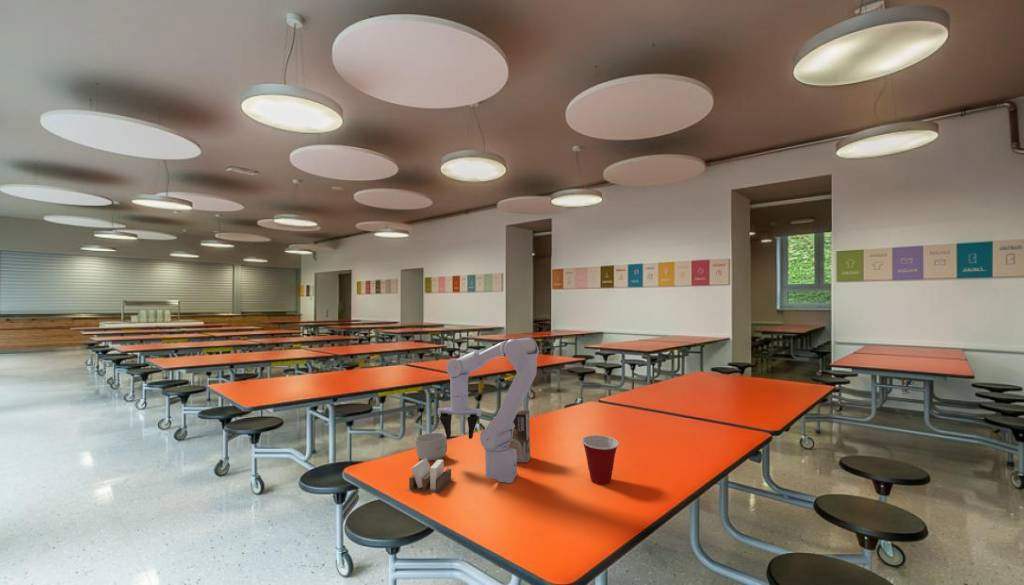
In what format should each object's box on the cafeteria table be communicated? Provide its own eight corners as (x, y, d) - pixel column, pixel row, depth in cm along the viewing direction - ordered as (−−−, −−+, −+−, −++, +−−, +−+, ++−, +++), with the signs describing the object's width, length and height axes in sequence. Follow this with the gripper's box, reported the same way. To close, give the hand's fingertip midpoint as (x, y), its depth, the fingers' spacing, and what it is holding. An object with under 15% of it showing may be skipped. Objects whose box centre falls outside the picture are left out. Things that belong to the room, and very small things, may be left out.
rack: (453, 481, 129) (453, 467, 129) (439, 496, 118) (439, 481, 118) (423, 478, 131) (423, 465, 131) (406, 493, 120) (406, 479, 120)
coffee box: (531, 457, 149) (530, 410, 150) (527, 463, 143) (526, 414, 144) (505, 455, 151) (505, 409, 152) (501, 461, 145) (500, 413, 146)
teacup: (440, 465, 142) (440, 441, 143) (410, 464, 144) (409, 439, 145) (454, 452, 156) (454, 429, 156) (426, 450, 158) (426, 428, 158)
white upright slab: (443, 480, 127) (443, 459, 128) (436, 489, 120) (436, 468, 121) (437, 480, 128) (437, 459, 128) (430, 489, 121) (430, 467, 121)
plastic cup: (597, 491, 120) (596, 447, 120) (575, 478, 129) (574, 437, 130) (628, 483, 124) (626, 441, 125) (604, 471, 134) (603, 432, 135)
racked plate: (434, 477, 128) (426, 457, 129) (423, 486, 121) (416, 466, 122) (428, 479, 128) (421, 459, 129) (418, 488, 122) (411, 468, 122)
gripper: (484, 393, 143) (484, 435, 142) (443, 392, 146) (443, 432, 145) (477, 397, 136) (477, 441, 135) (434, 396, 139) (435, 438, 138)
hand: (459, 437), depth 140 cm, fingers open, 7 cm apart
